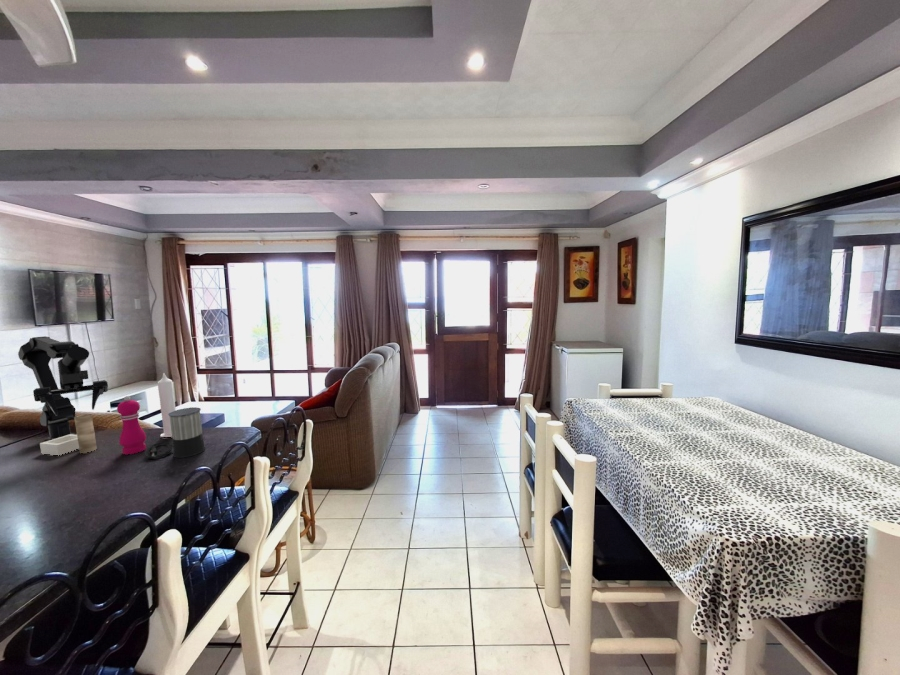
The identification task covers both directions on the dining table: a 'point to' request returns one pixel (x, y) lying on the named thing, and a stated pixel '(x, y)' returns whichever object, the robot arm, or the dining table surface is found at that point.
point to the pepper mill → (131, 427)
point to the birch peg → (85, 433)
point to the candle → (166, 403)
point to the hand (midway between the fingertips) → (75, 412)
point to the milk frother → (182, 435)
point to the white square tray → (60, 445)
